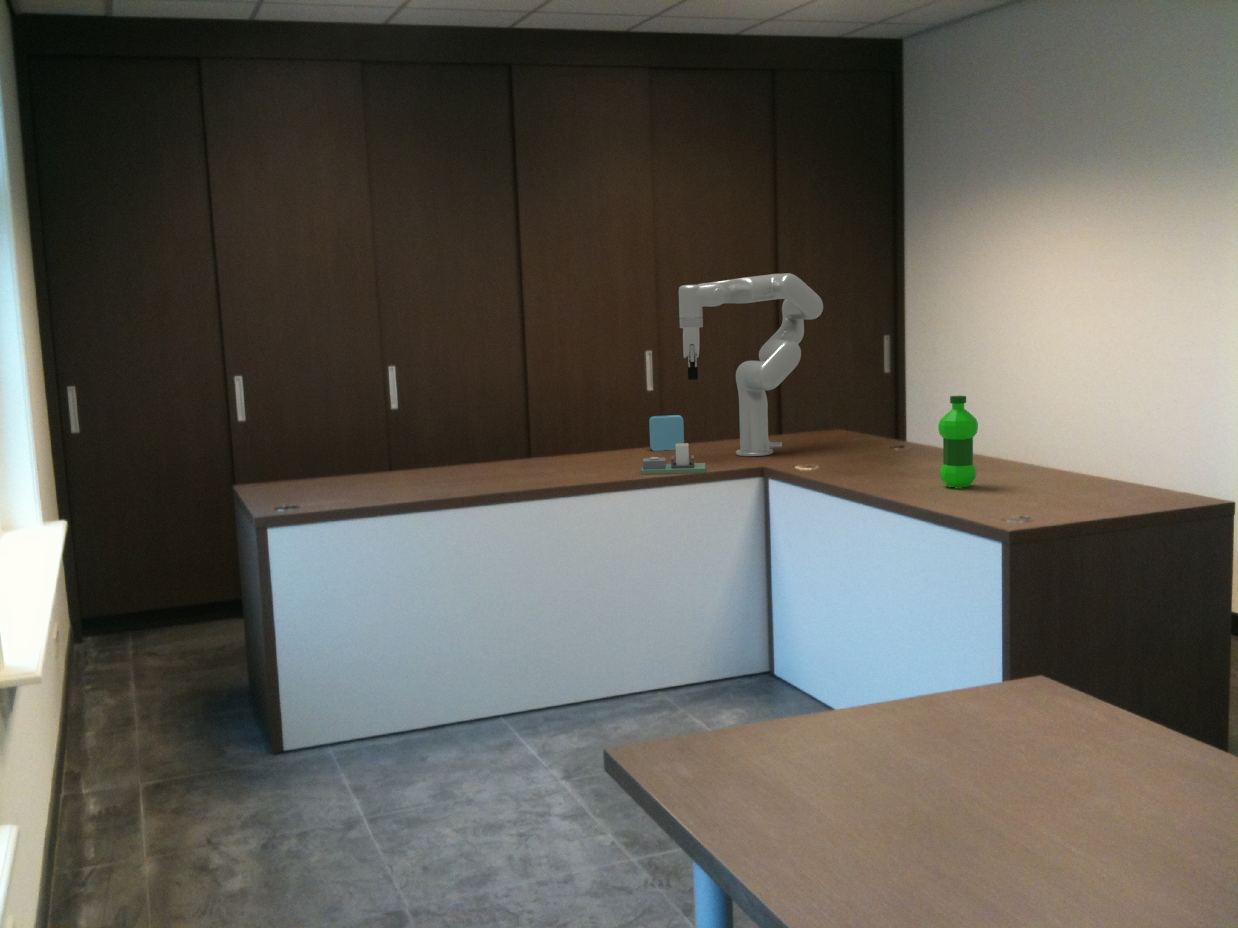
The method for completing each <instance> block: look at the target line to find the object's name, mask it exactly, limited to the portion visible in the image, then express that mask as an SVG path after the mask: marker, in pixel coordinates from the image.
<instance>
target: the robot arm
mask: <svg viewBox="0 0 1238 928" xmlns="http://www.w3.org/2000/svg"><path fill="white" fill-rule="evenodd" d="M774 300H783V302H782V306H781V312H782V323H781V326H780V327H779V328H777V330H776V332H774V333H773V334H772V336H771V337H770V338H769V339H767V341H765V343H764V344H763V345H762V346H761V347H760V349H759V351H758V359H759V360H745V361H744V362H742V363H741V364H739V365H738V367H737V369H736V371H735V382H736V387H737V392H738V404H739V407H738V408H739V409H738V411H739V414H738V415H739V445H740V446H739V447H740V449H737V450H736V451H735V455H736V456H740V457H742V456H743V457H762V456H763V457H764V456H770V455H772V454H774V450H773V449H782V448H783V442H779V441H777V442H776V441H774V442H773V441H770V439H769V417H768V414H769V413H768V411H769V410H768V408H769V405H768V397H767V394H766V393H767V392H766V391H771V390H774V389H775V388H777V387H778V386H779V385H781V383H783V382H784V380H785V379H786V378H787V377H788V376H789V375H790V374H791V373H792V372H793V371H794V370H795V369H796V368H797V366H798V365H799V363H800V360H801V357H802V350H801V347H800V345H799V344H800V343H801V341H802V340H803V338H804V334H805V324H804V323H805V322H804V320H808V321H809V320H815V319H817V318H818V317H820V316H821V315H822V312H823V311H824V303H823V300H822V298H821V297H820V295H818V293H817V292H815V291H814V290H813V289H812V288H811V287H810V286H808V285H807V283H806V282H804V281H803V280H802V279H801V278H800V277H798V276H797V275H795V274H793V273H790V272H789V273H771V274H765V275H764V274H763V275H755V276H747V277H740V278H739V277H738V278H732V279H727V280H721V281H712V282H702V283H698V284H685V285H680V286H679V287H678V311H679V315H678V316H679V329H682V346H683V348H682V349H683V351H682V352H683V358H684V359H686V358H687V359H688V360H687V361H688V362H687V365H688V367H687V377H688V378H687V379H688V380H689V381H691V380H695V381H696V380H698V379H699V378H698V377H699V373H698V372H699V370H698V367H699V366H698V364H697V361H698V358H699V355H700V328H703V327H704V321H703V320H704V318H703V316H704V315H703V307H719V306H721V305H723V304H724V305H725V304H751V303H757V302H765V301H774Z"/></svg>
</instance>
